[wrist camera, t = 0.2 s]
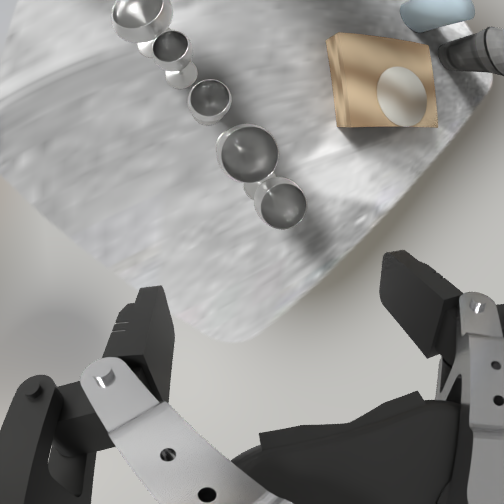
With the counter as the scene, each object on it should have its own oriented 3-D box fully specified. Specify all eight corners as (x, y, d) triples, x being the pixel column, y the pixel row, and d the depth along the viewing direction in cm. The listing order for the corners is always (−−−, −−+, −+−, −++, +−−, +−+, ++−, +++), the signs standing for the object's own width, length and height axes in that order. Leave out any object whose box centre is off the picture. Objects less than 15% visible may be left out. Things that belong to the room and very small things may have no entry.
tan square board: (325, 40, 32) (339, 31, 28) (411, 49, 33) (429, 45, 29) (336, 126, 37) (352, 127, 33) (420, 126, 38) (439, 127, 34)
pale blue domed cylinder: (397, -1, 30) (441, -22, 20) (423, 6, 30) (469, -10, 20) (403, 29, 32) (451, 13, 22) (430, 35, 32) (478, 24, 22)
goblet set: (289, 186, 39) (328, 213, 27) (252, 211, 40) (274, 250, 27) (164, 13, 28) (147, -35, 16) (125, 40, 29) (90, 3, 17)
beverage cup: (432, 70, 35) (536, 64, 16) (430, 30, 32) (527, 10, 14) (463, 83, 36) (560, 86, 18) (461, 45, 33) (553, 37, 15)
